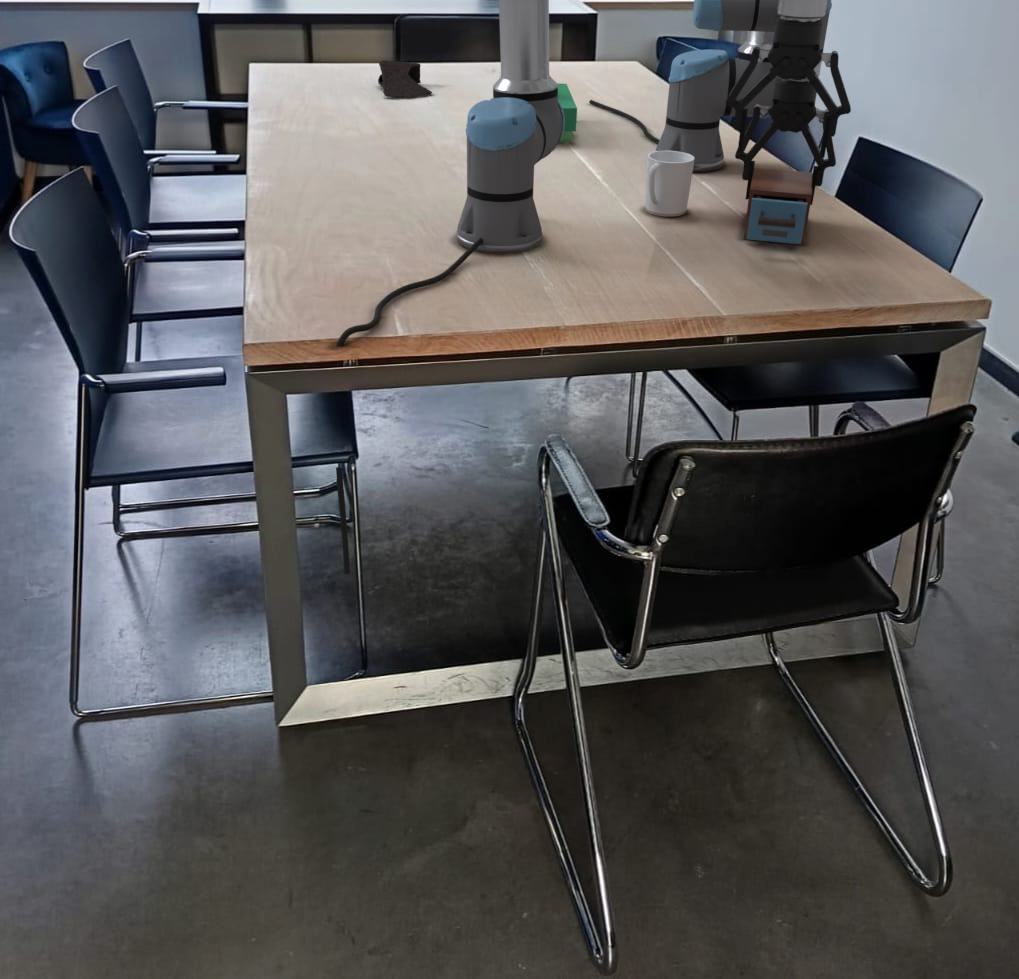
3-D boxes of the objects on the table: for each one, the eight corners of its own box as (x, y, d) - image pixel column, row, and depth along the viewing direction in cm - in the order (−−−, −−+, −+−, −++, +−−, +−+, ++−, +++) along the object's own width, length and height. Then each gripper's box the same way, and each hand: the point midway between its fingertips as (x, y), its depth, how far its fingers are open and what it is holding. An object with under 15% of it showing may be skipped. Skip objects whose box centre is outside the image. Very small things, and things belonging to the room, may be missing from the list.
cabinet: (803, 244, 197) (812, 194, 192) (743, 238, 199) (749, 189, 195) (804, 219, 210) (812, 172, 205) (747, 214, 212) (754, 167, 207)
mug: (658, 200, 218) (663, 148, 212) (697, 210, 213) (703, 156, 208) (627, 213, 210) (631, 159, 205) (667, 223, 206) (672, 168, 200)
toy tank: (564, 61, 276) (578, 91, 246) (561, 111, 283) (575, 146, 253) (494, 60, 275) (499, 89, 245) (493, 110, 282) (498, 145, 252)
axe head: (443, 87, 294) (392, 77, 287) (436, 115, 299) (385, 106, 292) (421, 62, 307) (371, 52, 300) (414, 89, 311) (365, 80, 304)
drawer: (800, 254, 190) (807, 213, 186) (744, 248, 192) (750, 208, 188) (801, 221, 206) (808, 182, 202) (750, 216, 208) (755, 178, 204)
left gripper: (880, 18, 175) (856, 152, 186) (723, 10, 180) (708, 141, 191) (882, 25, 169) (857, 163, 180) (719, 17, 174) (705, 152, 185)
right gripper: (864, 77, 195) (842, 199, 207) (732, 69, 200) (718, 189, 211) (865, 86, 189) (842, 211, 200) (729, 76, 193) (715, 200, 205)
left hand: (780, 152), depth 186 cm, fingers open, 13 cm apart
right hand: (778, 200), depth 206 cm, fingers closed on cabinet, 11 cm apart
